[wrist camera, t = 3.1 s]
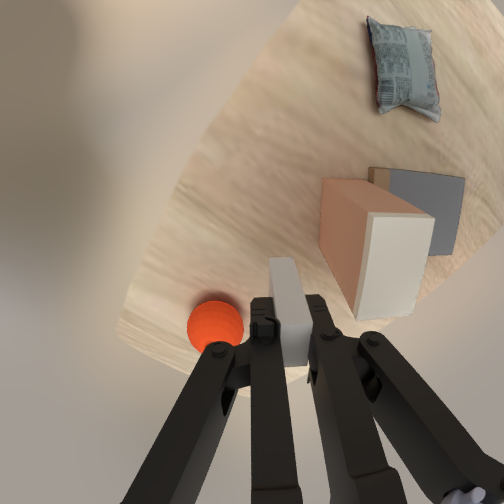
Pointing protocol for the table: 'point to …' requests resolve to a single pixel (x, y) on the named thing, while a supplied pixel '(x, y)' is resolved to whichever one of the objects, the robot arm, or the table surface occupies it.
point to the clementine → (214, 325)
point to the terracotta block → (374, 247)
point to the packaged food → (404, 69)
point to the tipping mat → (427, 200)
